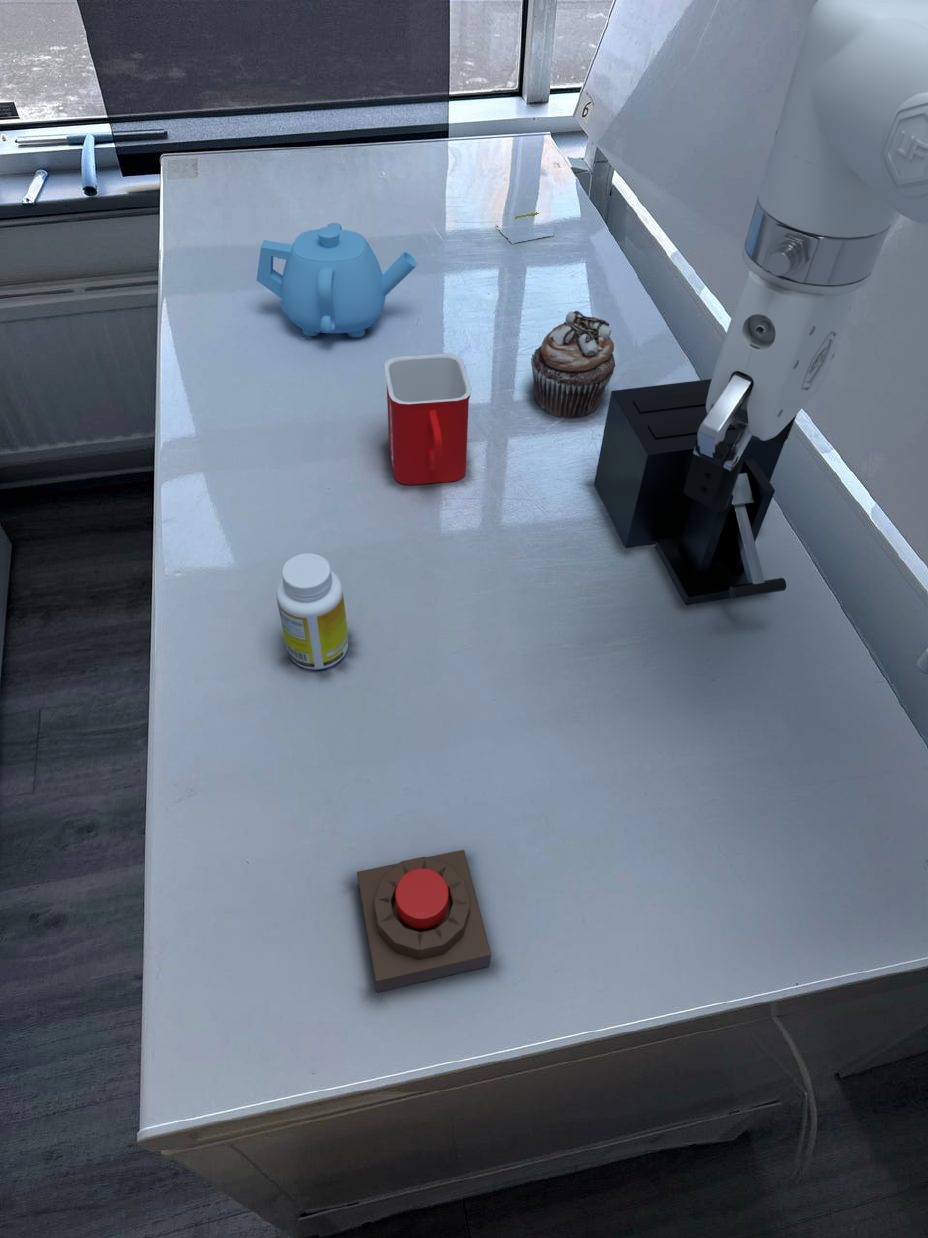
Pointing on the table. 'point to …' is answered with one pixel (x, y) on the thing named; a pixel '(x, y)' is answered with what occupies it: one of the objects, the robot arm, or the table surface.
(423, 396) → the mug
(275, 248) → the teapot
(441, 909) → the red button
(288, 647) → the supplement bottle
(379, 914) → the button block
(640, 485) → the toaster
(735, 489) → the toaster lever
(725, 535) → the lever bracket
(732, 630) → the table surface
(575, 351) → the cupcake
